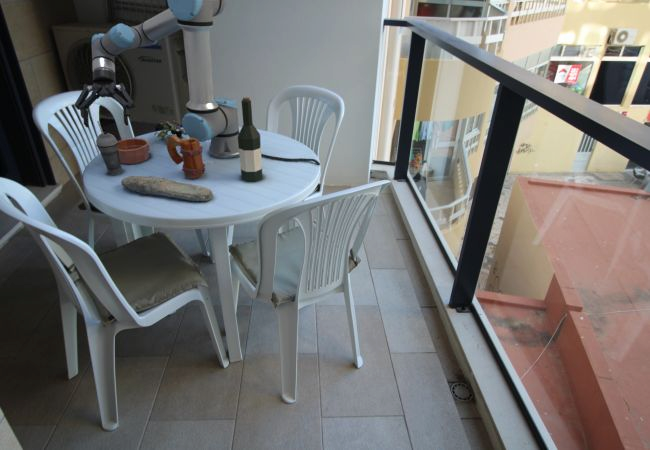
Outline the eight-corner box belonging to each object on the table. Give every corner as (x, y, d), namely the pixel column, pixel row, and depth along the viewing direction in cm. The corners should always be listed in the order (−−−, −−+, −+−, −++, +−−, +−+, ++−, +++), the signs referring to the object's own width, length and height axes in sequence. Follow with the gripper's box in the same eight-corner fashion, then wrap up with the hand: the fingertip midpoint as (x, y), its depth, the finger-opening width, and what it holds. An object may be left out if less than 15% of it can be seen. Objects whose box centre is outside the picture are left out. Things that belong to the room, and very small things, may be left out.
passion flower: (180, 149, 187) (192, 130, 182) (166, 153, 177) (178, 133, 172) (162, 133, 186) (173, 114, 181) (147, 137, 176) (159, 116, 171)
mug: (211, 173, 153) (206, 136, 145) (199, 182, 146) (193, 143, 138) (180, 167, 157) (173, 131, 148) (166, 175, 150) (158, 138, 142)
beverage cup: (117, 177, 148) (103, 125, 137) (100, 175, 149) (84, 123, 138) (129, 169, 154) (116, 119, 143) (113, 167, 155) (98, 117, 144)
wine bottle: (245, 183, 146) (237, 102, 130) (238, 175, 152) (230, 96, 136) (266, 179, 149) (261, 100, 133) (258, 171, 156) (253, 94, 140)
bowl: (158, 157, 165) (155, 143, 162) (126, 167, 155) (122, 153, 152) (139, 149, 172) (136, 136, 169) (108, 158, 162) (104, 144, 159)
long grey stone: (204, 210, 131) (219, 198, 140) (203, 196, 129) (218, 184, 137) (114, 190, 137) (133, 179, 146) (111, 176, 135) (131, 166, 143)
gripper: (141, 78, 156) (144, 127, 152) (72, 80, 151) (73, 131, 146) (136, 67, 149) (139, 118, 145) (63, 68, 144) (64, 121, 139)
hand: (106, 124), depth 146 cm, fingers open, 13 cm apart
